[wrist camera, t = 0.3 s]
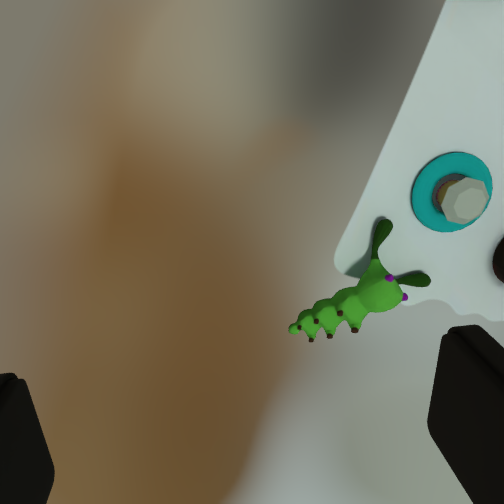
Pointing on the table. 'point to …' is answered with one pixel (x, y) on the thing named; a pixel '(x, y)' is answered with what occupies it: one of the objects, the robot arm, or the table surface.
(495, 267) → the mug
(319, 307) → the toy
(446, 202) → the ornament
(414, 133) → the table surface
